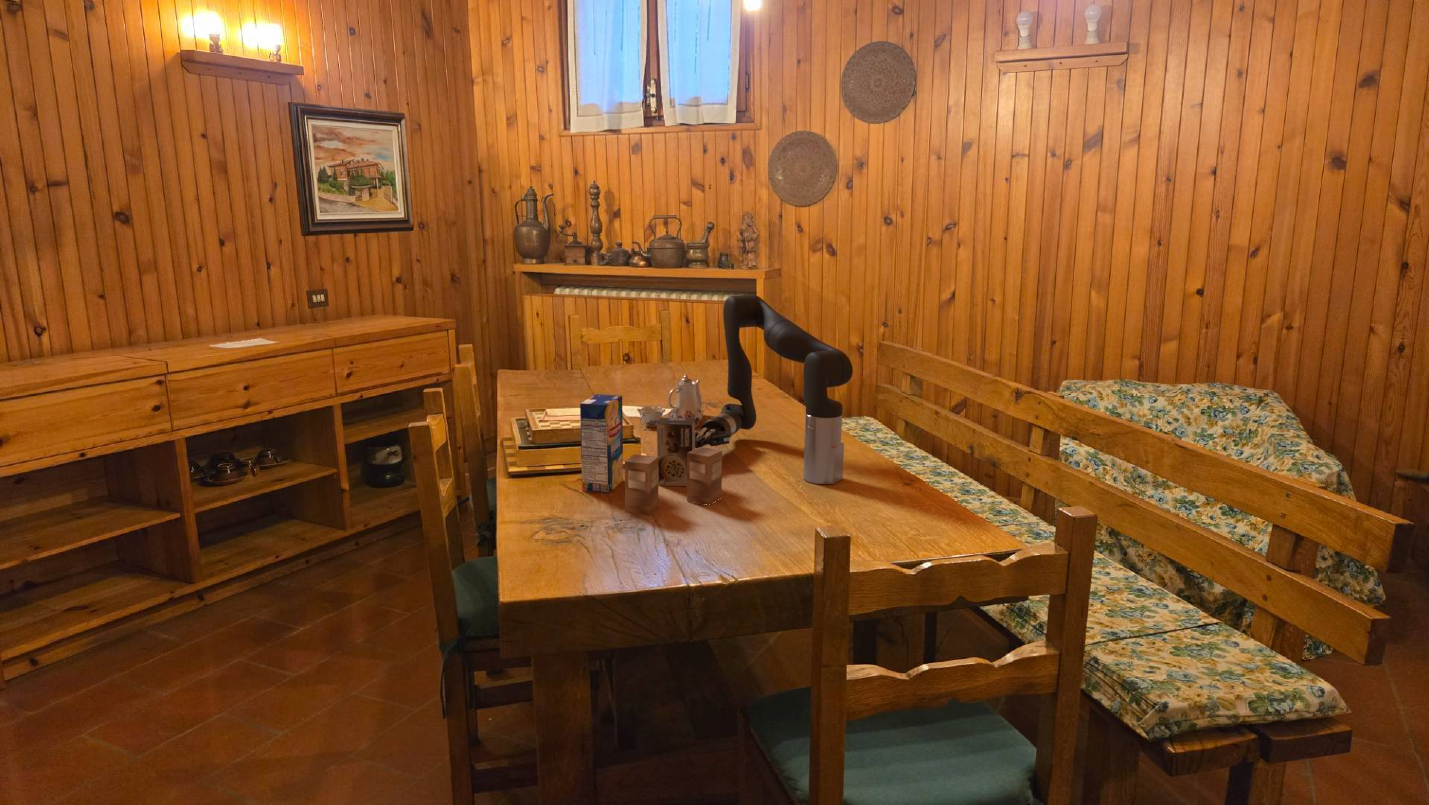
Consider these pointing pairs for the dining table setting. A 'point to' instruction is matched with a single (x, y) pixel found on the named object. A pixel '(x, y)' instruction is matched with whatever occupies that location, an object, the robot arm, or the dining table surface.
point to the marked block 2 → (704, 475)
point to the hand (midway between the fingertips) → (696, 444)
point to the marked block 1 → (641, 484)
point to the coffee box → (674, 449)
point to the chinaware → (678, 404)
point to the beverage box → (601, 443)
